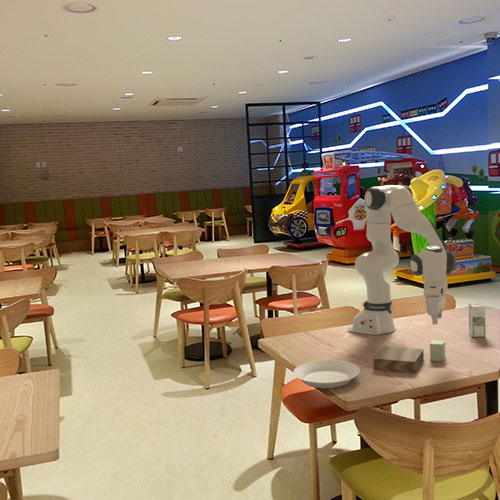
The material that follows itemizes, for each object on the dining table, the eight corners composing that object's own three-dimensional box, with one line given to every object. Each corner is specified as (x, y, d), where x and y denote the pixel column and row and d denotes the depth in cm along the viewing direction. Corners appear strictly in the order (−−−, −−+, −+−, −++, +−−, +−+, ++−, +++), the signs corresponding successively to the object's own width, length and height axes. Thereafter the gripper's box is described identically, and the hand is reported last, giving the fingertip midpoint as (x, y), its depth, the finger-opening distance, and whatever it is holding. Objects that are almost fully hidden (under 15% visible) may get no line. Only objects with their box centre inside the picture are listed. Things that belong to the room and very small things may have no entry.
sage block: (430, 360, 231) (429, 343, 231) (432, 356, 236) (432, 340, 235) (443, 361, 229) (442, 344, 228) (445, 357, 233) (444, 340, 233)
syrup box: (482, 333, 261) (481, 302, 260) (486, 337, 256) (485, 305, 254) (469, 334, 262) (468, 303, 260) (472, 337, 256) (471, 306, 254)
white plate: (316, 365, 237) (316, 356, 236) (372, 375, 221) (371, 365, 220) (280, 384, 218) (280, 375, 217) (338, 397, 202) (337, 387, 201)
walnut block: (373, 370, 226) (373, 358, 225) (384, 357, 240) (383, 346, 239) (415, 374, 218) (414, 361, 218) (423, 361, 232) (423, 349, 232)
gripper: (432, 282, 239) (433, 314, 241) (422, 292, 221) (424, 327, 223) (448, 282, 236) (449, 315, 238) (439, 292, 218) (441, 328, 220)
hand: (437, 321), depth 230 cm, fingers open, 8 cm apart
